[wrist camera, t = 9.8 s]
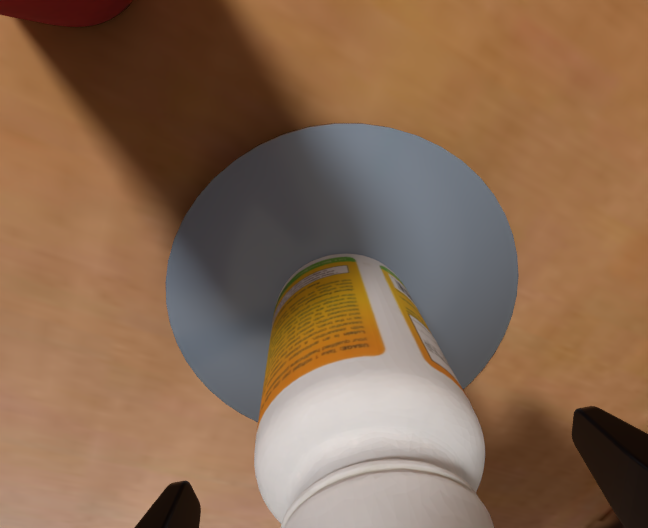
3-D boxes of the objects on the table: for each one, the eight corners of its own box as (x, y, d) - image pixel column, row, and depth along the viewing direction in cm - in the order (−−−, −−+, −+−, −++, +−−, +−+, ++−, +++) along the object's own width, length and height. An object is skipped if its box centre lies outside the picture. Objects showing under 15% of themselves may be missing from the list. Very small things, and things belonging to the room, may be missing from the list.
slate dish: (231, 443, 19) (227, 460, 18) (117, 167, 13) (103, 171, 12) (505, 392, 18) (516, 407, 17) (506, 84, 13) (521, 83, 12)
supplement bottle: (260, 350, 15) (198, 687, 6) (296, 232, 13) (279, 480, 4) (379, 377, 16) (471, 708, 7) (429, 271, 14) (637, 542, 5)
